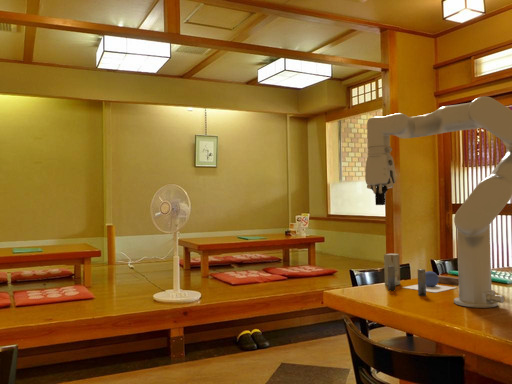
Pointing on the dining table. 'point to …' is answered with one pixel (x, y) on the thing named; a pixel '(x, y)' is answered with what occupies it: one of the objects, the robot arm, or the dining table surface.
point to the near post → (421, 282)
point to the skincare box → (392, 261)
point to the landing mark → (432, 288)
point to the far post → (391, 278)
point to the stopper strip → (448, 280)
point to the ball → (431, 279)
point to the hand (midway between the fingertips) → (380, 204)
